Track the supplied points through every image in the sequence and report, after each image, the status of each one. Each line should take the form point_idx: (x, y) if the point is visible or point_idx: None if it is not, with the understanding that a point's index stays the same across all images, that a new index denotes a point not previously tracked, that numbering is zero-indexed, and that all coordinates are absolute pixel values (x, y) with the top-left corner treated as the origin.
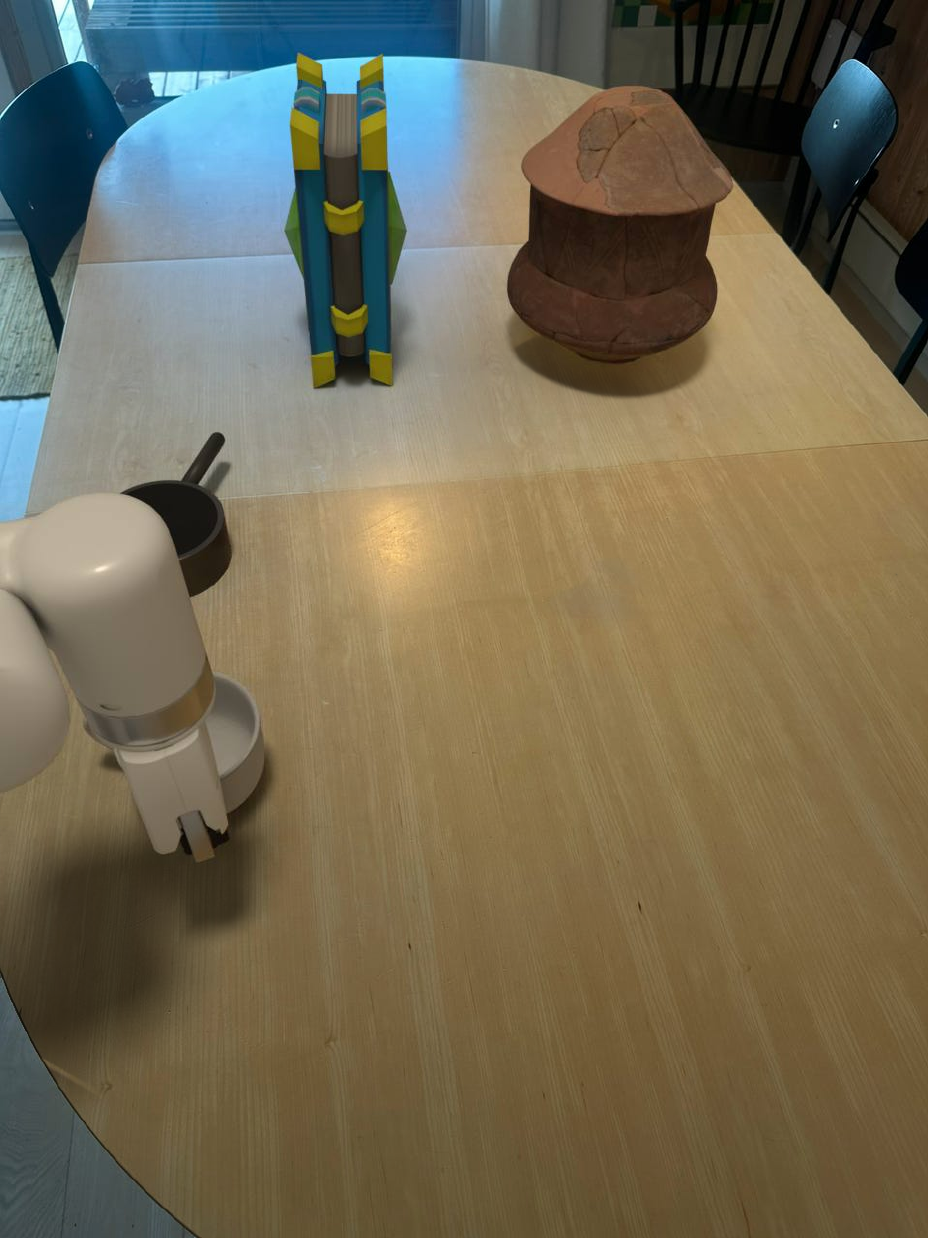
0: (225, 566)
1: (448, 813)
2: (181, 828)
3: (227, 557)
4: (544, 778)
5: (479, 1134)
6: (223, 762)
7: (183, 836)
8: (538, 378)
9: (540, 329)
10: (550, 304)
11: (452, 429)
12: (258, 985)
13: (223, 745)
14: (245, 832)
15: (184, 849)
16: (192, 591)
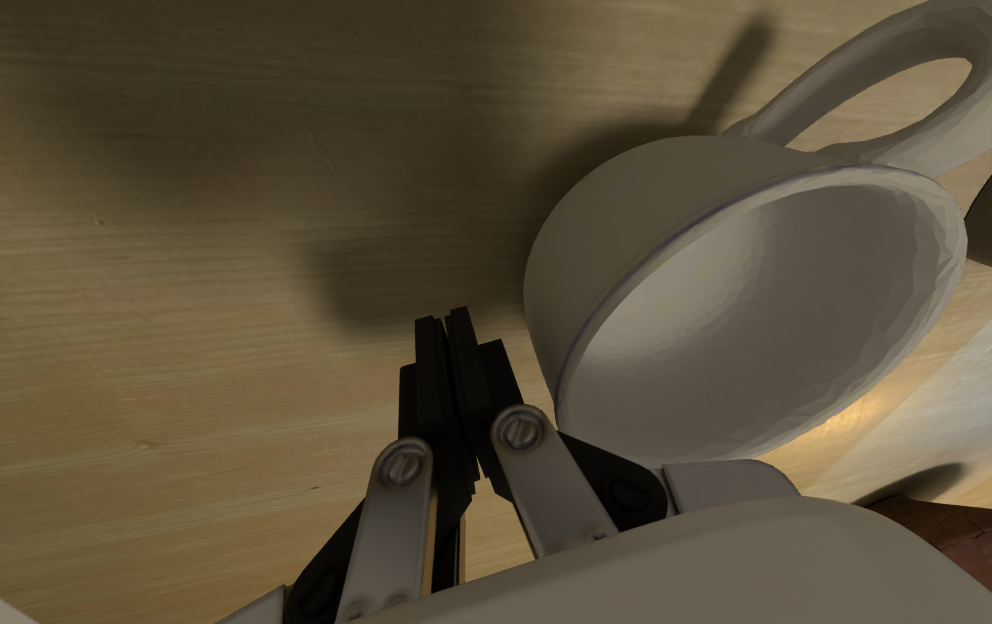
0: (974, 259)
1: (482, 491)
2: (331, 596)
3: (990, 266)
4: (504, 534)
5: (84, 556)
6: (637, 293)
7: (300, 593)
8: (887, 483)
9: (950, 539)
10: (977, 570)
11: (902, 443)
12: (214, 360)
13: (668, 293)
14: (502, 318)
15: (415, 336)
16: (985, 212)
